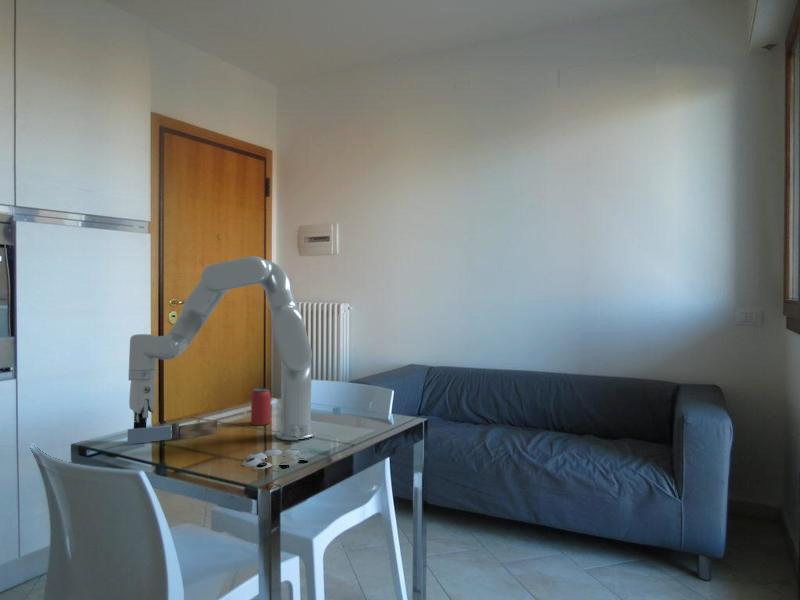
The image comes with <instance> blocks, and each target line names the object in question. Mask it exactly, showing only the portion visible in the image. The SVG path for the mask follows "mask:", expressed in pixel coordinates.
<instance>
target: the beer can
mask: <svg viewBox="0 0 800 600" xmlns="http://www.w3.org/2000/svg"><path fill="white" fill-rule="evenodd" d="M271 396H272V395H271V392H270V389H269V388H265V387H260V388H258V387H256V388H253V389H252V393H251V398H250V400H251V401H250V402H251V403H250V405H251V406H250V408H251V410H250V411H251V412H250V417H251V418H250V423H251V424H252V425H255V426H265V425H268V424H270V423H271V398H272V397H271Z"/></svg>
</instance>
